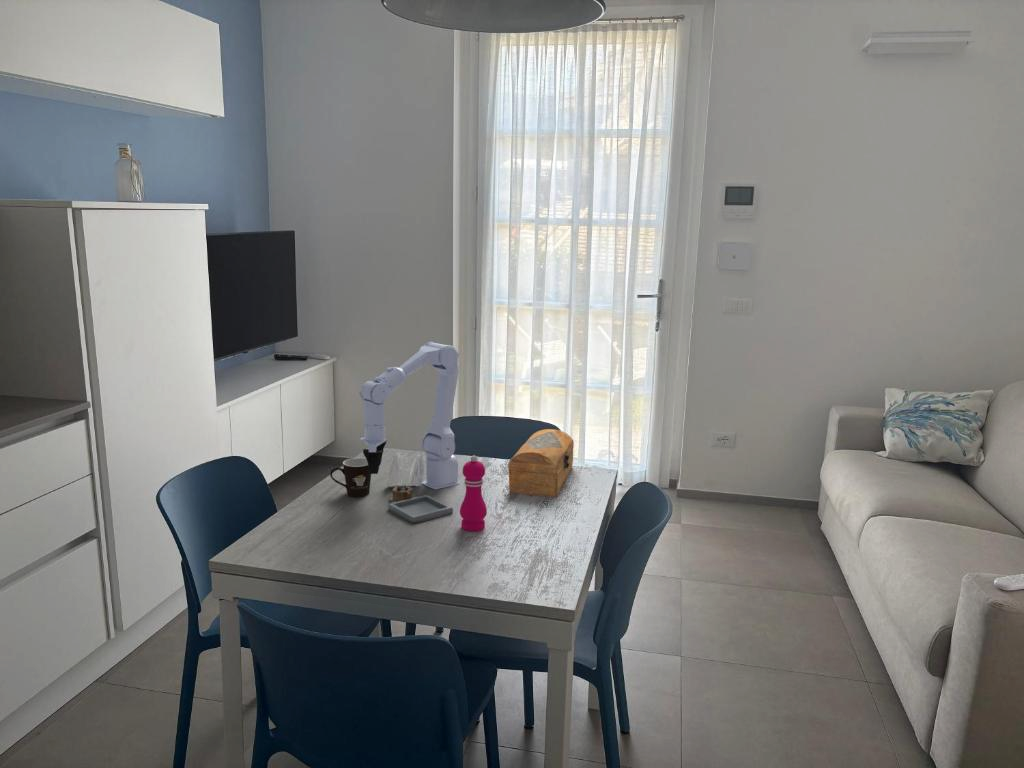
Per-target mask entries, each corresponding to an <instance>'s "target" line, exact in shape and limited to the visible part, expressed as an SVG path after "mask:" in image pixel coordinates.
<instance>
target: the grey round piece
mask: <svg viewBox="0 0 1024 768" xmlns="http://www.w3.org/2000/svg"><path fill="white" fill-rule="evenodd" d="M406 486H407V485H406V484H405V483H403V484H402V483H401V485H398V486H397V488H400V491H405V487H406ZM415 497H416V496H415V495H413V494H412V498H415ZM388 502H389V503H394V502H396V501H394V500H393V495H391V496H390V497H389V498H388Z"/></svg>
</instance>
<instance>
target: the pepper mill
mask: <svg viewBox="0 0 1024 768" xmlns="http://www.w3.org/2000/svg"><path fill="white" fill-rule="evenodd" d="M485 474H486V467H485V465H484V463H482V462H481V461H480V460H478V456H477V455H471V457H470V460H469V461H467V462H466V463H464V465H463V467H462V475H463V476H464V485H465V496H464V498H463V501H462V502H461V505H460V508H459V514H460V515H459V516H460V517H461V518H462V519H461V525H460V526H461V529H463V531H467V532H480V531H483V530H484V529H485V527H486V524H485V523H486V520H485V518H486V516H487V515H488V508H487V505H486V502H485V500H484V498H483V494H482V486H483V485H484V478H483V477H485Z"/></svg>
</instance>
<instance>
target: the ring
mask: <svg viewBox="0 0 1024 768" xmlns="http://www.w3.org/2000/svg"><path fill="white" fill-rule="evenodd" d="M412 495H413V487H412V486H408V485H406V487H405V491H400V488H397V486H395V487H392V496H393V500H394V501H396V502H398V501H403V500H407V499H411V498H412Z"/></svg>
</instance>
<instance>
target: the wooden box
mask: <svg viewBox="0 0 1024 768" xmlns="http://www.w3.org/2000/svg"><path fill="white" fill-rule="evenodd" d="M574 443H575V442H574V439H573V438H572V437H571V436H570V435H569V434H568V433H566V432H565V431H562V430H559V429H554V428H553V429H552V428H549V429H548V428H546V429H542V430H538V431H536V432H534V433H533V434H532V435H530V437H529V438H528V439H527V440H526V442H525V443H523V445H521V446H520V448H519V449H518V450H517V452H516V453H515V454H514V455H513V456H512V457H511V458H510V460H509V461H508V466H507V467H508V490H509V493H512V494H513V493H514V494H523V495H530V496H531V495H532V496H539V495H541V497H549V496H551V498H557V497H558V496H559V494H558V493H560V492H559V491H561V490H560V489H562V488H561V487H563V486H562V485H564V484H565V482H566V480H565V479H567V478H568V476H569V475H570V473H571V471H572V469H573V464H574V462H573V461H574V447H575V446H574V445H575V444H574ZM569 472H570V473H569ZM566 477H567V478H566ZM564 481H565V482H564ZM563 483H564V484H563Z"/></svg>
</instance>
